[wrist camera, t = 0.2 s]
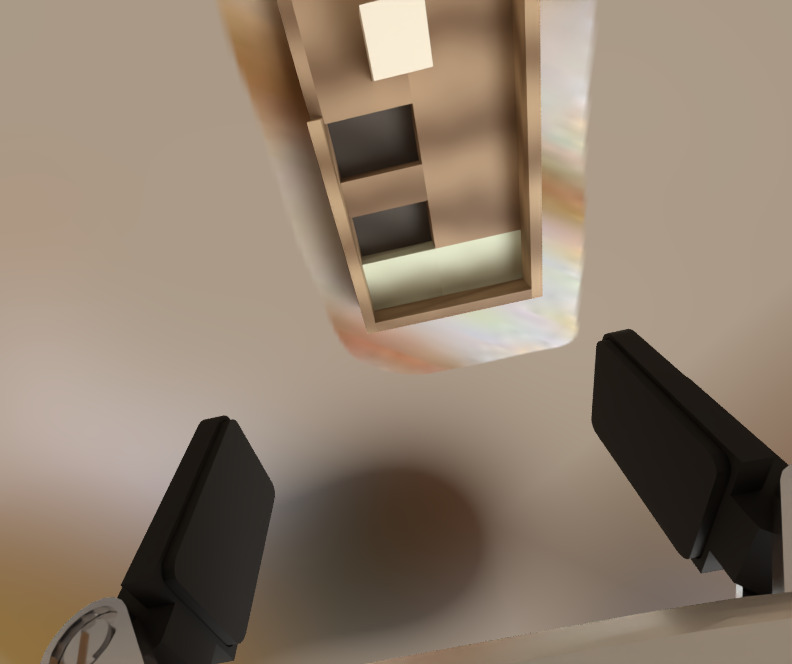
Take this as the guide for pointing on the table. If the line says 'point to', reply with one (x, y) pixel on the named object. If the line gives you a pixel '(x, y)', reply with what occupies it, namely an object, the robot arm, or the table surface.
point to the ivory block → (395, 37)
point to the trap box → (429, 156)
